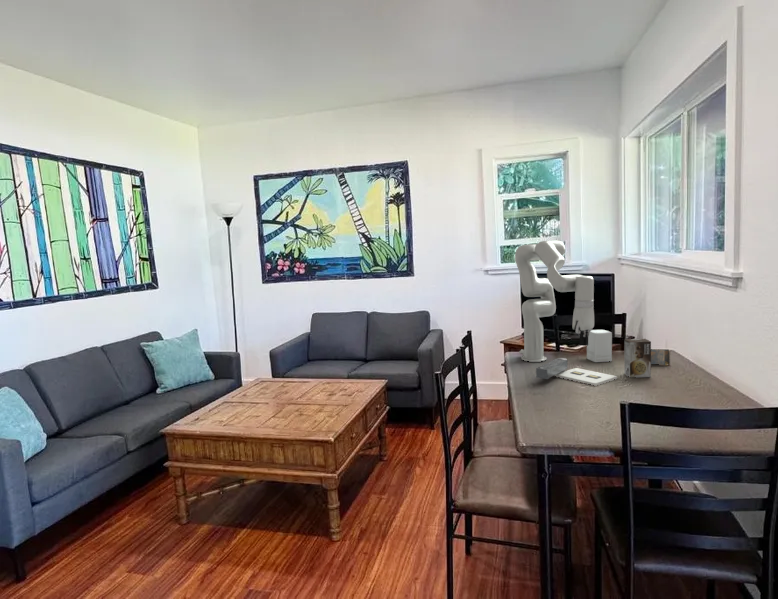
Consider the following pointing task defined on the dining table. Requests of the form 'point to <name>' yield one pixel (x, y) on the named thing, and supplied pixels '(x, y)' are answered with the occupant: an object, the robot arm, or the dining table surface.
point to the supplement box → (599, 346)
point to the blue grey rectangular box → (660, 356)
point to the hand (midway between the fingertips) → (583, 345)
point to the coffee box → (637, 358)
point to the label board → (586, 376)
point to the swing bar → (551, 368)
